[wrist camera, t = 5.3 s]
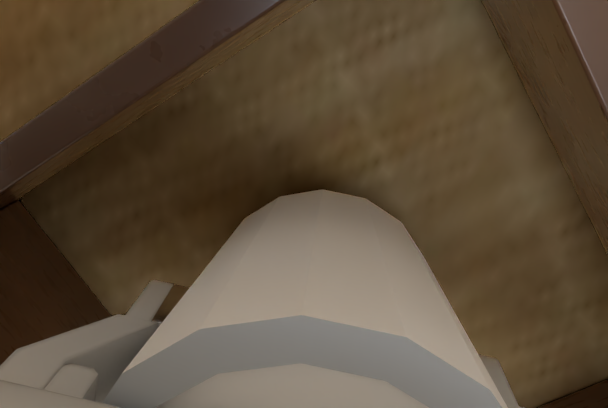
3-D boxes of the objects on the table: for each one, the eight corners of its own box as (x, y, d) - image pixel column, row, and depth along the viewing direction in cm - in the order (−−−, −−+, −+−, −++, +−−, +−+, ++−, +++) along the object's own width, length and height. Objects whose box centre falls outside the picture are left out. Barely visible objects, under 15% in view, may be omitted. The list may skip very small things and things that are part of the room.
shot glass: (257, 421, 16) (197, 708, 9) (149, 220, 14) (-23, 407, 7) (485, 355, 15) (599, 636, 8) (402, 123, 13) (463, 247, 6)
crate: (-18, 189, 16) (-169, 260, 12) (455, -136, 12) (516, -226, 8) (264, 535, 20) (236, 695, 15) (694, 367, 16) (833, 511, 11)
